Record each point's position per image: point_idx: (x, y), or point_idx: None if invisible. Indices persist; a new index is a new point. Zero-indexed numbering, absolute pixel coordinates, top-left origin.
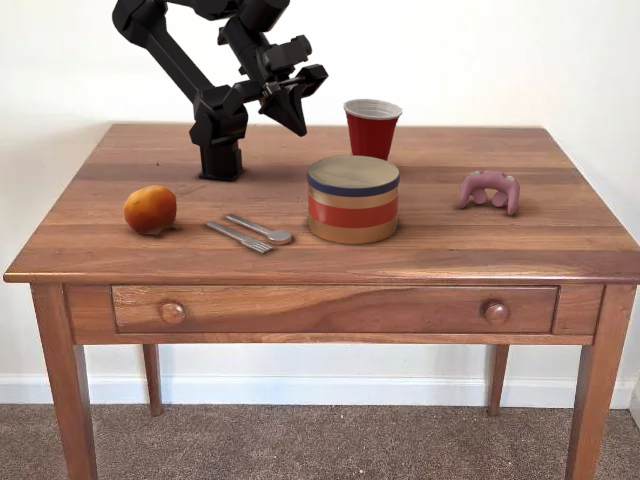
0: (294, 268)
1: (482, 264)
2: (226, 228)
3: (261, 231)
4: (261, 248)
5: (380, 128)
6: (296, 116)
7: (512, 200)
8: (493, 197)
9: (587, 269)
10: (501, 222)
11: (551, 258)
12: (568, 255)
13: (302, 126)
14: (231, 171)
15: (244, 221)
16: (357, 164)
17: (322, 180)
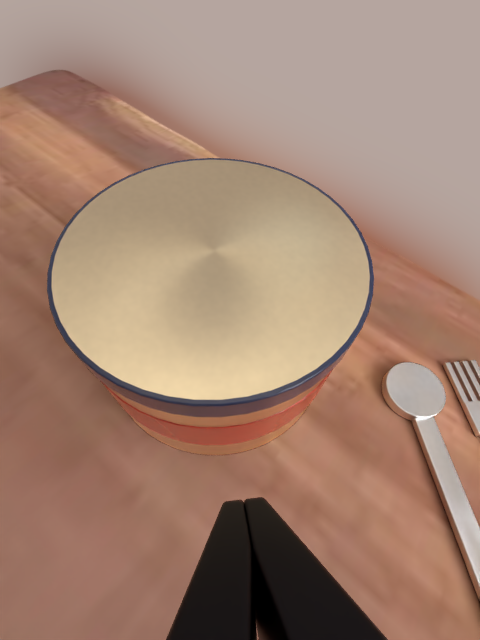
0: (430, 284)
1: (173, 151)
2: None
3: (445, 447)
4: (472, 373)
5: None
6: (297, 623)
7: None
8: None
9: (95, 95)
10: (7, 195)
11: (93, 120)
12: (70, 114)
13: (254, 530)
14: None
15: (474, 547)
16: (156, 279)
17: (351, 253)
